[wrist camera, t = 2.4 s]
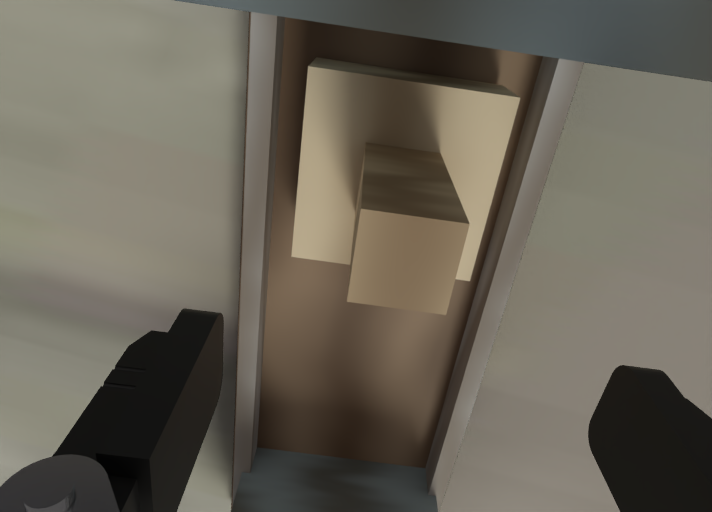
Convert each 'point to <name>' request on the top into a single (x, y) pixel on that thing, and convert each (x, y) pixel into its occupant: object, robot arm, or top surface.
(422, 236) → the carriage
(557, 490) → the top surface
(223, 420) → the top surface
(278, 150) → the rail track
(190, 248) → the top surface
